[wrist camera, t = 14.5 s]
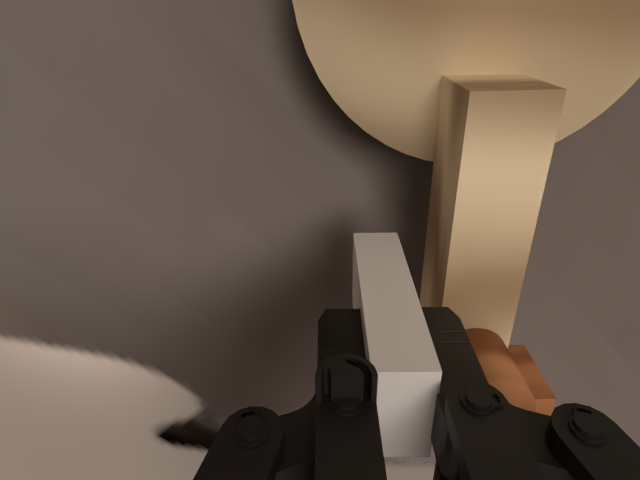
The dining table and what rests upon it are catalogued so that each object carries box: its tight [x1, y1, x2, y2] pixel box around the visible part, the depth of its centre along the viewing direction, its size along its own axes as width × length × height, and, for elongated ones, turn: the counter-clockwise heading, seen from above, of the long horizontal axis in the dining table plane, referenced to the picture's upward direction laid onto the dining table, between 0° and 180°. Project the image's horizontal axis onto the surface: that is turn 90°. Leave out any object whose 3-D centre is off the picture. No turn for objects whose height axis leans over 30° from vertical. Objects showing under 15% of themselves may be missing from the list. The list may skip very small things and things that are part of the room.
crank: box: [292, 0, 640, 416], centre depth 13 cm, size 22×12×7 cm, turn 1°
